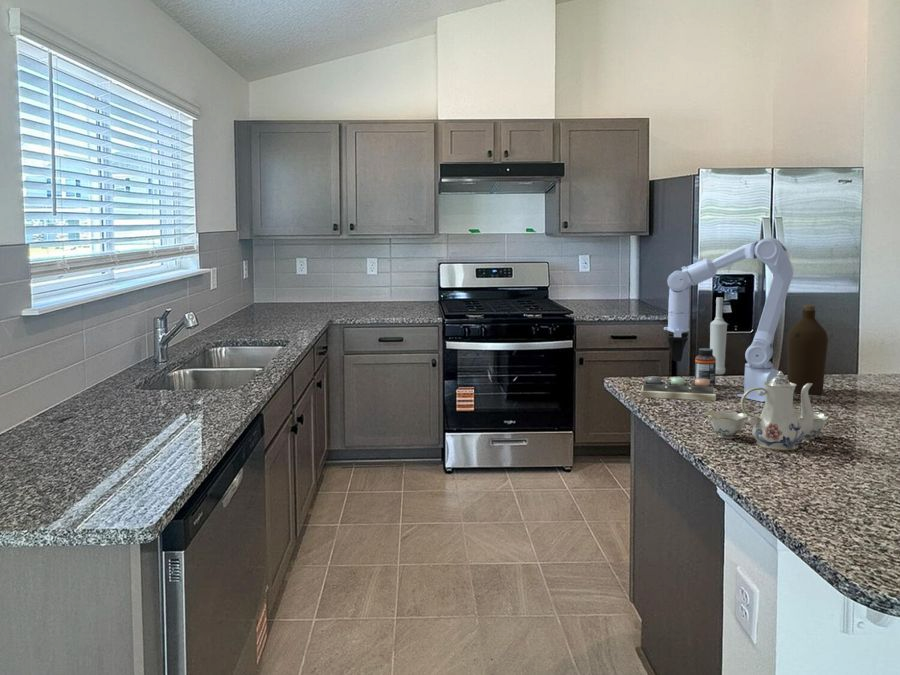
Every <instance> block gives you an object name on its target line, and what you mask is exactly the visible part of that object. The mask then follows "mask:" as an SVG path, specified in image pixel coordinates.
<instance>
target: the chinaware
mask: <svg viewBox="0 0 900 675" xmlns="http://www.w3.org/2000/svg"><path fill="white" fill-rule="evenodd" d="M778 371H779V372H778V374H776V375H777V377H773V378H772V380H771V381H767V382H764V385H765V389H764V388H761V387H758V388H751V389H749V390H747V391H746V392H745V393H744V392H743V393H742V394H743V396H742V397H740V398H741V399H740V408H741V411H742V412H741V413H738V412H736V411H734V410H730V409H727V410H722V411H717V410H710V411H708V414H707V416H708V418H706V419H705V420H704V421H703V424H702V429H703V430H704V432H706V433H709V434H710V433H712V432H714V433H713V435H714V436H718V437H719V438H721V439H726V440H727V439H728V440H731V439H736V437H735V436H736V435H737V434H739V433H740V432H741V431H742V430H743V428H744V426H745V422H746V420H747V421H748V424H749V425H751V434H752V436H753V438H754V439H755V441H756V442H755V444H756V445H757V446H758V447H760V448H764V449H768V450H774V451H775V450H776V451H777V450H778V451H793V450H797V449H799V444H801V443H802V442H803V441H804V440H815V436H816V435H817V437H818V438H821V437H823V436H822V434H825V435H827V436H829V435H833V433H835V432H836V429H837V427H836V424H835V422H834V421H832V420H831V419H830V418H831V416H829V415H825V414H824V413H823V412H821V411H813V408H812V404H811V400H810V397H809V396H810V395H808V390H809V388H810V387H811V385H812V383H807V384H806V385H804V386H803V388H802V390H801V394H800V409H801V410H799V409H798V410H795V408H794V394H795V393H794V390H795V386H796V384H794V383H790V382H789V380H788V379H787V377H785V374H784V373H783V371H782V370H778ZM755 390H764V392H762V391H759V396H764V395H765V394H766V399H765V402H764V405H763V408H762V411H761V413H760V414H759V416H758V415H755V414H752V413H750V412H748V411H747V409H746V408H745V400H746V399H747V398H746V396H747V395H748V394H749V393H750V392H752V391H755ZM755 418H756V419H755ZM707 422H709V423H711V426H712V428H713V429H714V430H713V429H712V430H707V429H705V428H706V427H705V425H706V423H707ZM826 423H827V424H830V423H832V424H833V426H834V429H833V431H832V432H829V433H828V432H825V431H823V430H824V427H825V425H826ZM718 434H719V435H718Z"/></svg>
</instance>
